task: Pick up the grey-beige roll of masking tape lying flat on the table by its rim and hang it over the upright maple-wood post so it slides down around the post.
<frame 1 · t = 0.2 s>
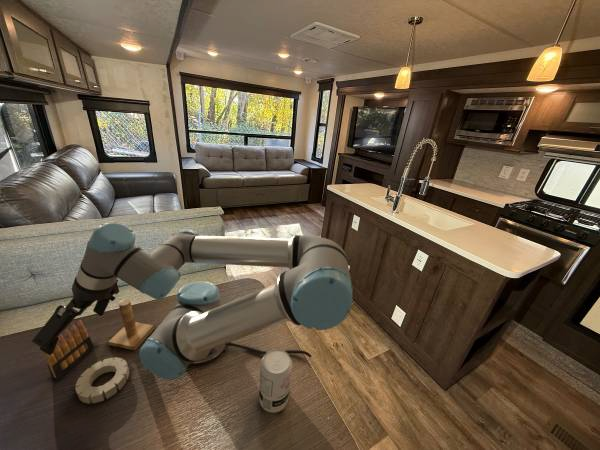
hand: (74, 330, 65), 15 cm above the table, tool tilted 30°, fingers open, 13 cm apart
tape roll: (104, 382, 68), on the table
supplement can: (273, 398, 68), on the table
post stand: (132, 336, 82), on the table
ammunition clip: (74, 362, 73), on the table
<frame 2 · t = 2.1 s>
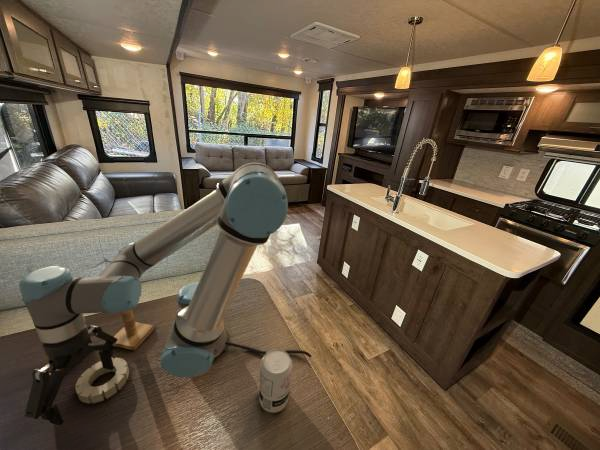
hand: (85, 392, 63), 2 cm above the table, tool pointing down, fingers open, 13 cm apart
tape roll: (104, 382, 68), on the table, touching gripper
everything else where it was.
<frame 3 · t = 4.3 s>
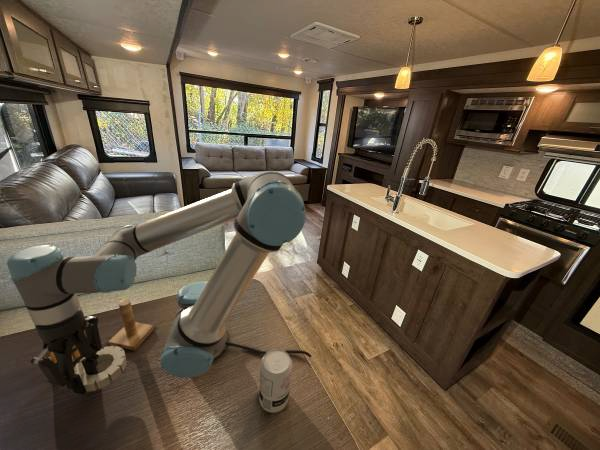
hand: (87, 384, 62), 5 cm above the table, tool pointing down, fingers closed on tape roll, 3 cm apart
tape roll: (101, 370, 66), point 5 cm above the table, touching gripper
everything else where it was.
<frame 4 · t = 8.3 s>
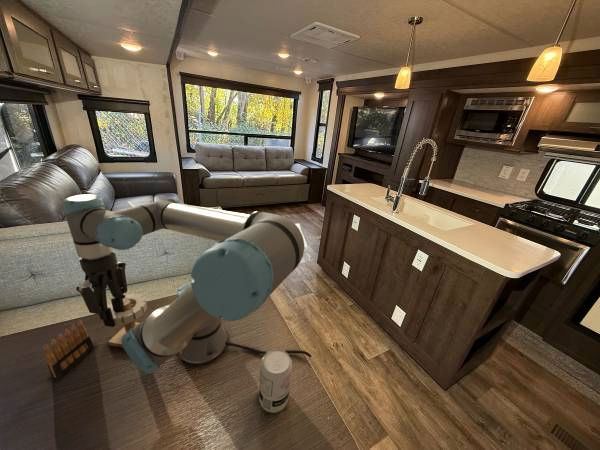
hand: (115, 320, 74), 11 cm above the table, tool pointing down, fingers closed on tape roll, 3 cm apart
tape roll: (126, 311, 78), point 11 cm above the table, touching gripper
everything else where it was.
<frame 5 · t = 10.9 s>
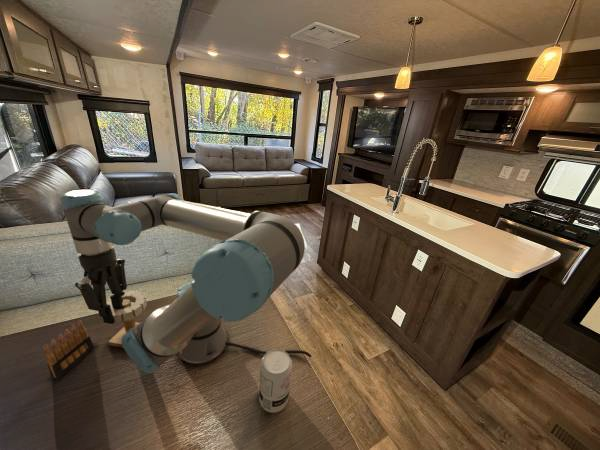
hand: (114, 317, 74), 12 cm above the table, tool pointing down, fingers closed on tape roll, 3 cm apart
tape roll: (125, 308, 77), point 12 cm above the table, touching gripper
everything else where it was.
when the fingers open (14 cm above the table, at t = 13.6 s): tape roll drops 12 cm, resting on post stand.
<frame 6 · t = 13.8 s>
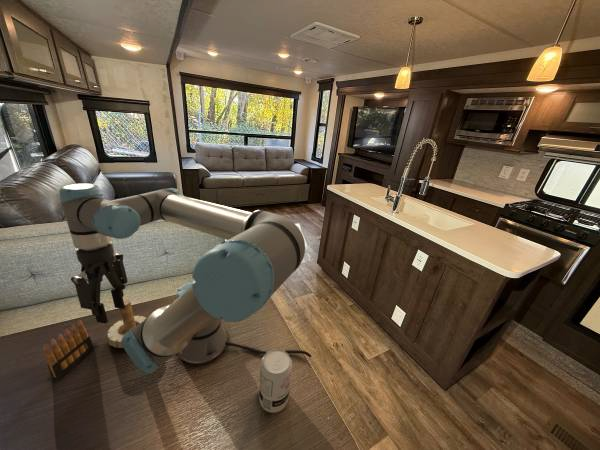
hand: (111, 314, 72), 14 cm above the table, tool pointing down, fingers open, 5 cm apart
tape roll: (130, 333, 81), point 2 cm above the table, touching post stand
everything else where it was.
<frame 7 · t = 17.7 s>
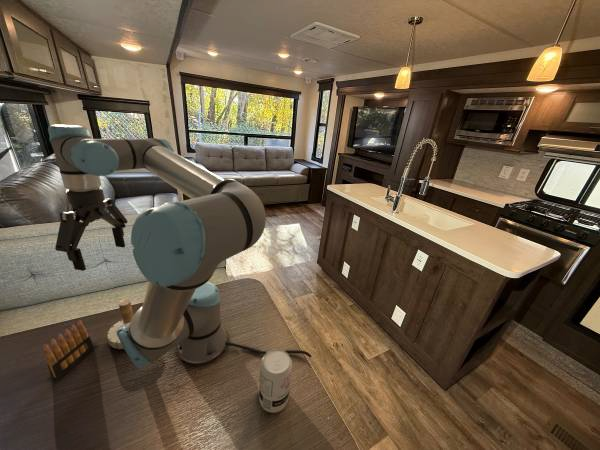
hand: (102, 257, 73), 29 cm above the table, tool pointing down, fingers open, 13 cm apart
nothing on the table moved.
at the end: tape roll 0.5 cm from the post stand (horizontally); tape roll point 1.5 cm above the table; the gripper is holding nothing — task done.
